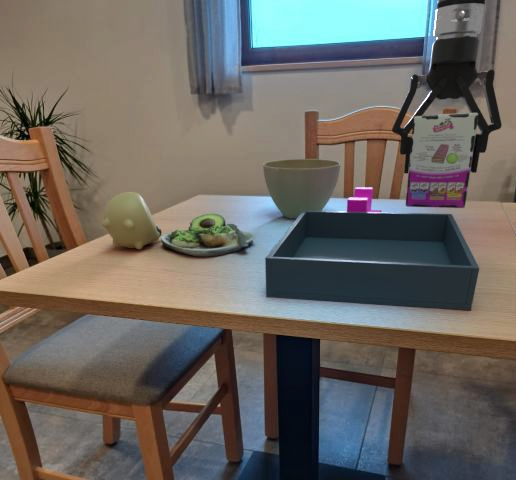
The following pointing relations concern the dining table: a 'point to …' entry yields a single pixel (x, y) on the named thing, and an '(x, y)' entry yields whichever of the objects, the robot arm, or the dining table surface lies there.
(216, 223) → the salad plate
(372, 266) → the bin
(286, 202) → the flower pot
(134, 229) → the toy pig
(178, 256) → the dining table surface
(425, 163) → the candy bar box
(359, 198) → the toy block
